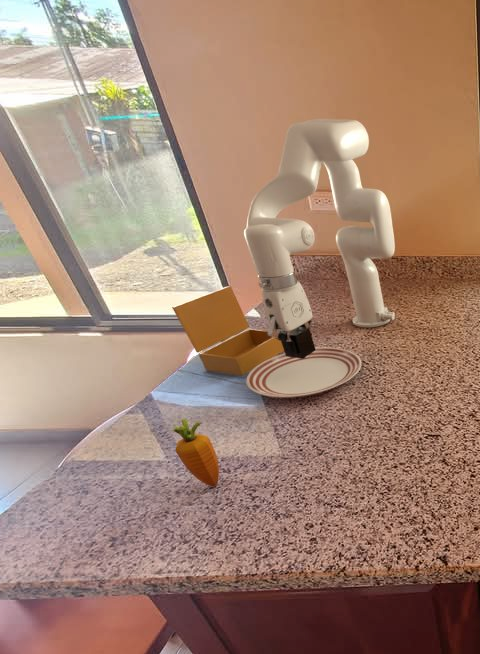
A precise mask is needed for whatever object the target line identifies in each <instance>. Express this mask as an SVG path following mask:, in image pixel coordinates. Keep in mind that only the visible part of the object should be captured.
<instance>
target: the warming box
mask: <svg viewBox="0 0 480 654" xmlns="http://www.w3.org/2000/svg"><path fill="white" fill-rule="evenodd" d="M250 328H251V327H249V329H247V330H245V331H243V332H241V333H239V334H237V335H235V336H233V337H231V338H229V339H227V340H225V341H223V342H219V343H217V344H215V345H213V346H211V347H209V348H207V349H205V350H203V351H201V352H198V356H199V359H200V361H201V362H202V364H203V367H204V369H205V371H207V372H216V373H223V374H230V375H236V376H242V377H243V376H245V375H246V374H249V373H250V372H251V370H253V369H254V368H255V367H256V366H257V365H259V364H261V363H262V362H264V361H266V360H268V359H270V358H273V357H275V356H278V355H280V354H282V352H284V349H283V346H282V343H281V341H279V340H278V339H276V338H274V337H271V336H268V330H266V329H258V328H253V329H250Z"/></svg>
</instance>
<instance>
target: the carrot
mask: <svg viewBox="0 0 480 654" xmlns="http://www.w3.org/2000/svg"><path fill="white" fill-rule="evenodd" d="M181 424H182V425H179V427H178V426H175V427H173V430H172V431H173V432H175V434H178V435H180V437H181V439H179V440H178V441H177V443H176V446H175V453H176V454H177V456H178V457H179V459H180V461H181V462H182V464H183V466H184V467H185V468H186V469H187V470H188V472H189V473H191V475H192V476H193V477H194V478H196V480H198V481H199V482H202V484H205V485H207V486H209V487H214V488H215V487H216V486H217V485H218V483H219V477H220V465H219V460H218V456H217V452H216V451H215V448H214V445H213V443H212V441H211V439H210V438H209V437H208V436H207V435H204V434H200V433H196V431H197V428H198V427H199V426H200V425H201V424H202V422H200V421H197V422H195V423H194V424H193V425H192V427H191V428H190V427H189V422H188V420H187V418H184V419H181Z"/></svg>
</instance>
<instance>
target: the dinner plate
mask: <svg viewBox="0 0 480 654" xmlns="http://www.w3.org/2000/svg"><path fill="white" fill-rule="evenodd" d="M315 349H316V350H315V351H314V352H312V353H311V354H309V355H308V356H306V357H305V358H303V359H301V358H294V357H286V355H285V352H284V353H280V354H277V355H276V356H274V357H273V358H270V359H268V360H266V361H264V362H262V363H261V364H259V365H257V366H256V367H255V368H254V369H253V370H251V371H250V372H248V373H247V376H246V379H245V383H246V386H247V387H248V389H249V390H250V391H252V392H253V393H255V394H257V395H260V396H265V397H270V398H277V399H278V398H279V399H281V398H282V399H291V398H302V397H309V396H313V395H317V394H320V393H324V392H326V391H330V390H332V389H334V388H336V387H339V386H342V385H343V384H345V383H347V382H348V381H350V380H352V378H354V377H355V376H356V375H357V374H358V373H359V371H361V368H362V360H361V358H360V357H359V355H358V354H357V353H355V352H353V351H351V350H348V349H344V348H339V347H330V346H329V347H328V346H326V347H325V346H323V347H321V346H319V347H315Z"/></svg>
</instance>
